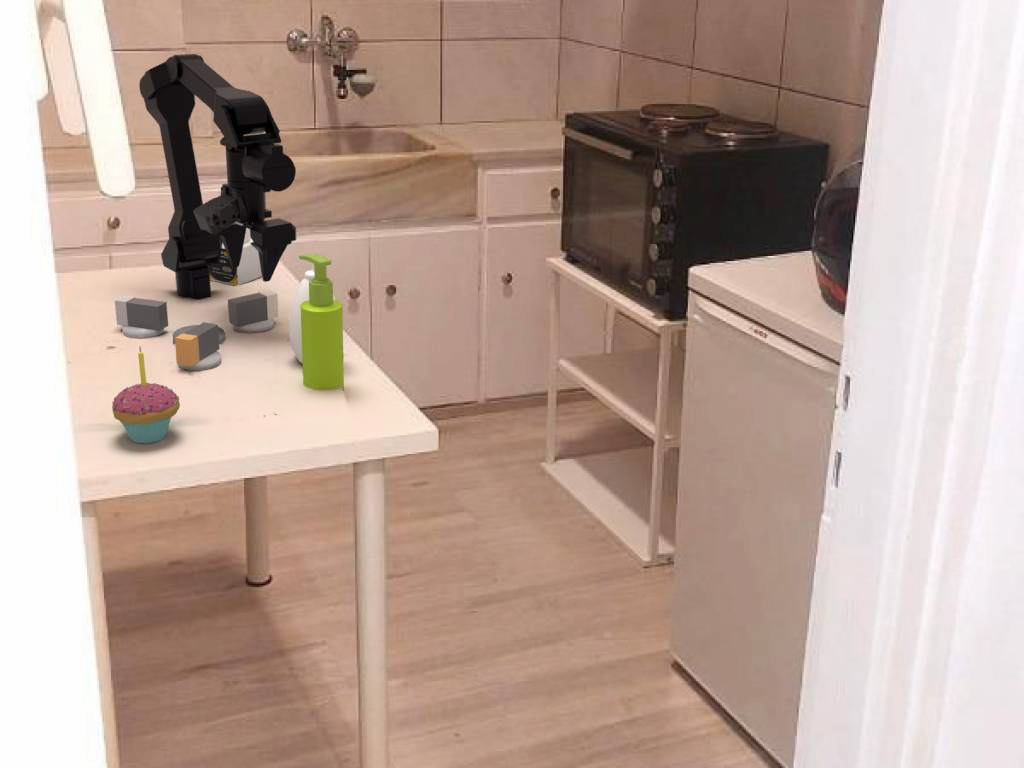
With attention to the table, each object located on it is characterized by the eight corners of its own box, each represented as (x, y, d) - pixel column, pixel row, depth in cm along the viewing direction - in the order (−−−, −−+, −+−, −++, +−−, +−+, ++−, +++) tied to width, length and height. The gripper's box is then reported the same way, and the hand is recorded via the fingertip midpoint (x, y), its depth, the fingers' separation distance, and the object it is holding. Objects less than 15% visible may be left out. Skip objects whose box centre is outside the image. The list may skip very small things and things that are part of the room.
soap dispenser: (324, 376, 177) (320, 248, 169) (352, 390, 173) (349, 259, 165) (291, 386, 173) (286, 255, 165) (319, 400, 169) (315, 266, 161)
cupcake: (112, 427, 158) (104, 343, 154) (177, 419, 161) (171, 337, 157) (118, 454, 151) (109, 367, 146) (186, 445, 154) (179, 360, 149)
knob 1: (194, 350, 182) (192, 319, 180) (231, 356, 180) (229, 325, 178) (166, 368, 175) (163, 335, 173) (203, 374, 173) (201, 342, 171)
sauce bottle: (350, 372, 179) (348, 258, 172) (303, 381, 175) (298, 265, 168) (329, 355, 185) (326, 244, 178) (282, 364, 181) (277, 251, 174)
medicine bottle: (207, 280, 218) (203, 216, 213) (232, 270, 224) (229, 208, 219) (237, 286, 215) (234, 222, 210) (262, 277, 221) (259, 214, 216)
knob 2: (244, 336, 188) (242, 306, 186) (223, 325, 192) (221, 295, 190) (285, 326, 193) (283, 296, 191) (263, 315, 197) (262, 286, 195)
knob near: (175, 327, 191) (173, 297, 189) (153, 340, 185) (150, 310, 183) (133, 321, 192) (130, 292, 191) (110, 334, 187) (107, 304, 185)
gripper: (168, 173, 184) (176, 269, 190) (232, 197, 172) (238, 298, 178) (231, 164, 191) (236, 257, 197) (296, 187, 179) (300, 285, 185)
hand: (250, 274), depth 189 cm, fingers open, 9 cm apart
